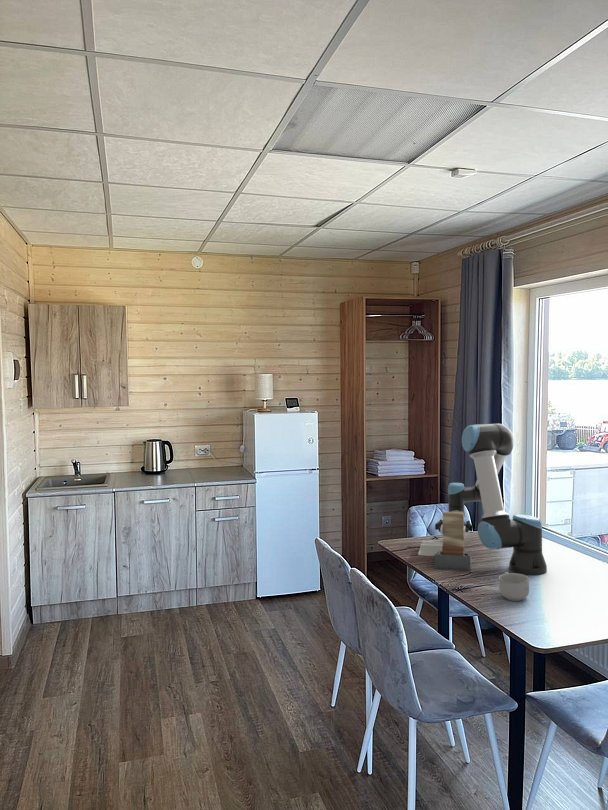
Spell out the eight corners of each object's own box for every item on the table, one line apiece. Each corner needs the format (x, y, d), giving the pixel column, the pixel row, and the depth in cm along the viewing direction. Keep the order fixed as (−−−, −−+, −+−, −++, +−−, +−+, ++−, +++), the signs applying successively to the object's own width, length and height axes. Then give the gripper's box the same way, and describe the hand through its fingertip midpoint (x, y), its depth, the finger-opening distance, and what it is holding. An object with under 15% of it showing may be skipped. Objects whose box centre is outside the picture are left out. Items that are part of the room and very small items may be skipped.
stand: (420, 552, 290) (420, 539, 289) (450, 553, 285) (450, 541, 285) (418, 558, 280) (417, 545, 280) (448, 560, 276) (448, 547, 276)
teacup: (532, 604, 221) (531, 582, 221) (501, 603, 223) (501, 581, 223) (524, 590, 235) (524, 570, 235) (495, 589, 237) (495, 569, 236)
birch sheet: (443, 560, 271) (442, 511, 270) (464, 561, 269) (463, 512, 268) (443, 561, 269) (442, 512, 268) (464, 563, 266) (463, 513, 265)
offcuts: (442, 563, 267) (442, 545, 267) (463, 564, 264) (463, 546, 264) (441, 567, 261) (441, 549, 261) (463, 568, 258) (463, 550, 258)
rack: (437, 561, 274) (436, 545, 274) (471, 563, 270) (471, 547, 270) (434, 571, 260) (434, 554, 260) (470, 574, 256) (470, 556, 255)
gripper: (479, 528, 282) (478, 541, 261) (432, 526, 288) (427, 539, 267) (479, 513, 282) (478, 524, 260) (431, 511, 288) (427, 522, 267)
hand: (452, 532), depth 264 cm, fingers closed on birch sheet, 9 cm apart
